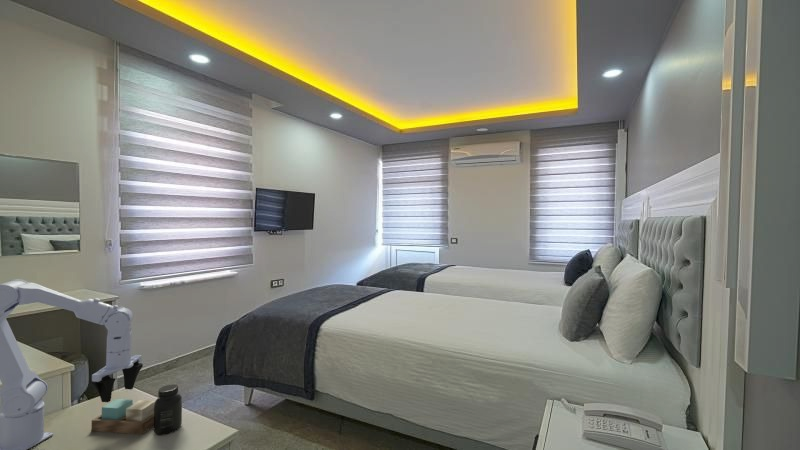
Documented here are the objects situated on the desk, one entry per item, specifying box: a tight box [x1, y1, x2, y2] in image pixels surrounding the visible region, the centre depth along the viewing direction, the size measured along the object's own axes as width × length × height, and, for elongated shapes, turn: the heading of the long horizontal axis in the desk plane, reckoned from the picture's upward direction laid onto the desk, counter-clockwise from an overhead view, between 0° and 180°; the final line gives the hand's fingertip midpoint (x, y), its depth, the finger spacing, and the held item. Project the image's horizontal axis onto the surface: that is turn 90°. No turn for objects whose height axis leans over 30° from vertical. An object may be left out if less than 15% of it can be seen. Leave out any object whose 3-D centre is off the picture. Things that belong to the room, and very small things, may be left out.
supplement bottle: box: [153, 383, 183, 436], centre depth 99 cm, size 7×7×12 cm
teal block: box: [101, 398, 134, 420], centre depth 101 cm, size 5×5×5 cm
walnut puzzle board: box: [91, 399, 156, 435], centre depth 101 cm, size 16×8×6 cm, turn 86°
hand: (117, 394), depth 101 cm, fingers open, 7 cm apart
